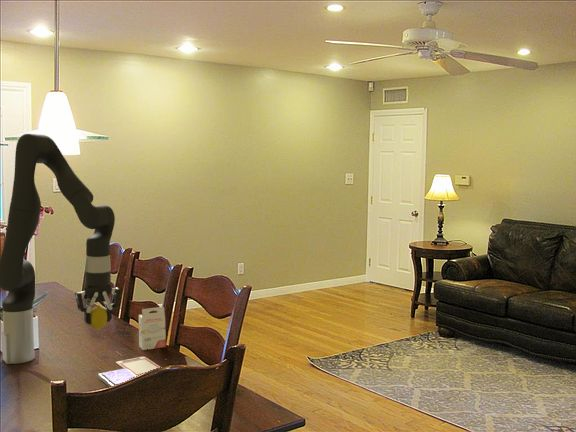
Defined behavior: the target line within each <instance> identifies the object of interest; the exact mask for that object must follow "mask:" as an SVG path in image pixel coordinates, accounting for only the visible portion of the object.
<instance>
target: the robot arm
mask: <svg viewBox="0 0 576 432" xmlns="http://www.w3.org/2000/svg"><path fill="white" fill-rule="evenodd" d="M15 147H16V148H15V157H14V159H15V160H14V173H13V174H14V177H13V185H12V193H11V200H10V204H9V210H8V217H7V224H6V225H7V226H6V229H5V230H6V231H5V236H4V242H3V243H4V244H3V248H2V251H1V252H2V253H1V255H0V288H1V289H2V290H3V291H6V292H8V293H7V296H6V297H5V298H4V300H3V301H2V305H1V307H2V308H1V309H2V332H1V347H2V348H1V349H2V351H1V352H2V360H3V361H4V362H5V364H6V365H10V364H11V365H13V364H15V365H17V364H25V363H28V362H30V361H33V360H35V339H34V338H35V335H34V307H33V306H34V305H33V304H34V300H35V297H36V271H35V268H34V266H33V265H32V263H31V262H30V261H29V260H26V259H25V255H26V250H27V248H28V246H29V243H30V241H31V240H32V238H33V236H34V235H35V232H36V230H37V228H38V225H39V222H40V221H39V220H40V216H41V209H42V201H41V199H40V195H39V193H38V189H37V187H36V184H35V183H36V182H35V174H36V167H37V164H43V165H44V166H46V167H47V168H48V169H49V170H50V171H52V173H53V174H54V177H55V179H56V184H57V186H58V189H59V191H60V192H61V194H62V195H63V197H64V198H65V199H66V200H67V202H69V203H70V205H71V206H72V207H73V209H74V211H75V213H76V216H77V217H78V220H79V222H80V223H81V224H82V225H83V226H84V227H85V228H86V229H89V230H94V231H93V234H92V235H90V236H89V237H88V238H87V239H86V243H85V246H86V247H85V249H86V250H85V251H86V252H85V254H86V255H85V265H84V266H85V267H84V270H85V271H84V272H85V288H84V289H83V291H75V293H74V295H75V300H76V301H75V302H76V306H77V309H78V310H79V311H80V312H81V313H82V312H83V315H84V317H83V318H84V323H85V324H86V325H90V324H91V313H90V312H91V310H92V309H93V307H94V305H95V303H99V302H101V303H102V302H103V304H104V306H105V308H104V309H105V310H106V313H107V323H110V322H111V320H112V317H113V315H112V314H113V313H112V312H113V309H116V308H118V307H119V301H120V298H121V297H120V295H121V292H122V291H121V289H120V288H119V287H112V286H111V281H112V278H111V276H112V275H111V273H112V272H111V270H112V269H111V266H112V265H111V263H112V262H111V253H110V252H111V249H110V248H111V245H110V242H111V238H112V235H113V231H114V227H115V222H116V221H115V220H116V217H115V212H114V209H113V208H112V207H110V206H109V205H106V204H103V205H102V204H101V205H94V204H93V200H94V195H93V193H92V191H91V190H90V189H89V188H88V187H87V185H85V183H84V182H83V181H82V180H81V179H80V178H79V177H78V176H77V174H76V173H75V172H74V170H73V168H72V167H71V165H70V164H69V163H68V160H67V159H66V158H65V155H63V153H62V152H61V151H62V150H60V149H59V147H58V145H57V144H56V142H55V141H54V139H52V137H50V136H48V135H46V134H36V133H23V134H22V135H21V136H20V137H19V138H18V140H17V143H16V146H15ZM110 295H112V299H111V301H110V299H109V296H110ZM85 296H86V297H87V299H86V301H85V304H84V298H85Z"/></svg>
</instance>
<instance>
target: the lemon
mask: <svg viewBox="0 0 576 432" xmlns="http://www.w3.org/2000/svg"><path fill="white" fill-rule="evenodd" d="M105 309H106V308H104V307H102V306H100V305H96V306H93V307H92V308H91V311H90V313H91V324H89V325H90V326H91V328H93V329H95V330H96V331H100V330H101V329H102V328H104V327H105V326H106V325H107V323H108V322H107V313H106V310H105Z"/></svg>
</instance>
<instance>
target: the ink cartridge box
mask: <svg viewBox="0 0 576 432" xmlns="http://www.w3.org/2000/svg"><path fill="white" fill-rule="evenodd" d="M153 311H154V312H153ZM150 312H151V313H150ZM165 314H166V313H165V307H164V306H160V307H151V308H150V307H149V308H142V309H141V314H138V341H139V342H138V347H139V348H140V349H141V350H142V351H146V350H147V349H148V350H153V349H160V348H161V349H162V348H166V347H167V344H166V343H167V341H166V339H167V338H166V337H167V336H166V335H167V334H166V315H165Z"/></svg>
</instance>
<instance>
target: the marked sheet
mask: <svg viewBox="0 0 576 432" xmlns="http://www.w3.org/2000/svg"><path fill="white" fill-rule="evenodd" d="M115 363H116V364H117V365H118V366H120V368H121V369H124V368H125V369H126V368H127V369H128V370H129V371H131V372H132V373H133V374H135V375H136V376H138V375H140V374H142V373H145V372H148V371H150V370H153V369H156V368H160V367H161V366H160V365H158V364H157V363H155V362H154V361H152V360H151V359H149V358H148V357H146V356H139V357H138V356H137V357H134V358H129V359H124V360H118V361H115Z"/></svg>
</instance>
